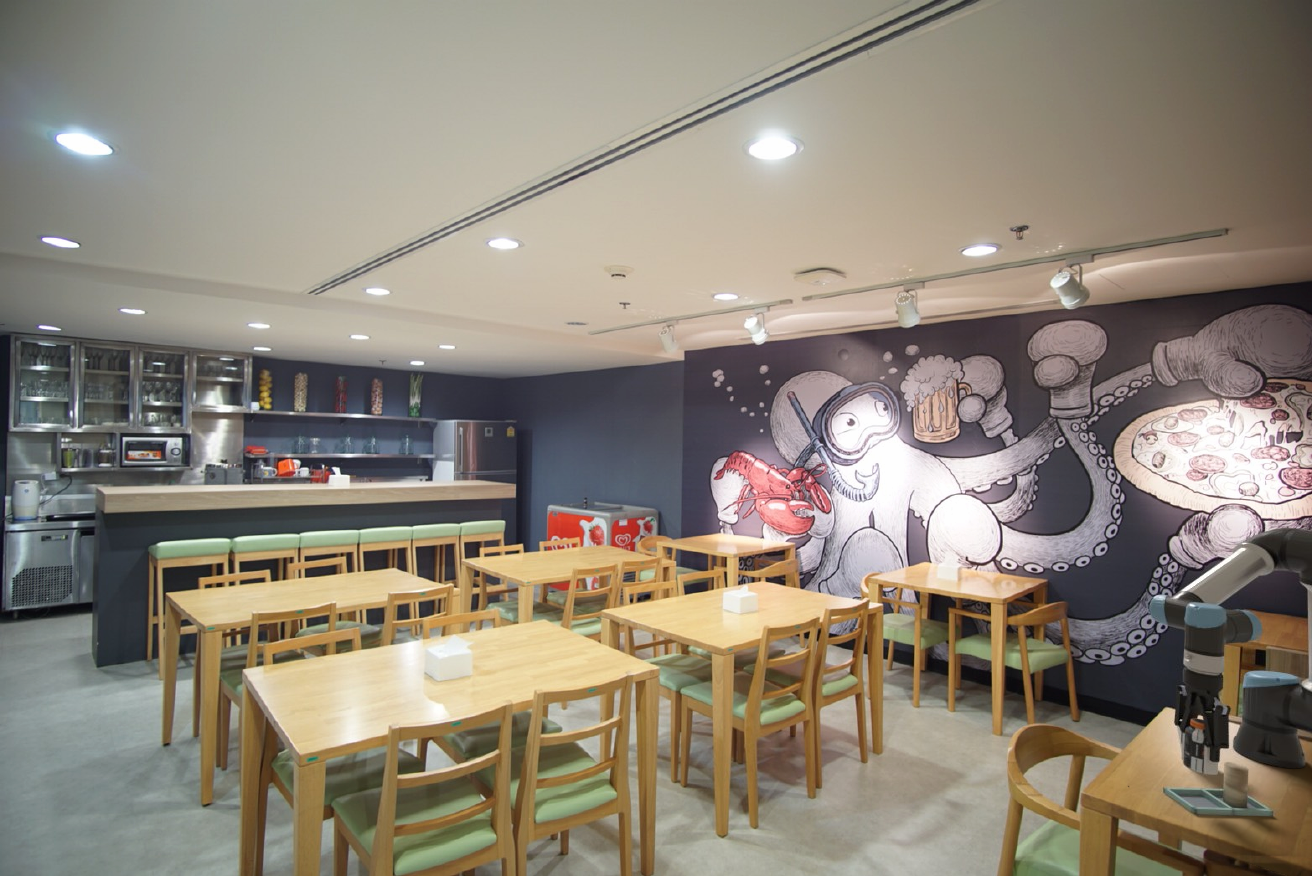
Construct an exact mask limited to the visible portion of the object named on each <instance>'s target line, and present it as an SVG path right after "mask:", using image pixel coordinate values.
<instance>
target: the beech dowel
mask: <svg viewBox="0 0 1312 876" xmlns="http://www.w3.org/2000/svg"><path fill="white" fill-rule="evenodd" d="M1223 765H1224V766H1223V788H1222V789H1223V802H1224V803H1226V804H1227V805H1229V806H1231V807H1233V808H1247V797H1248V796H1249V793H1248V789H1249V768H1248V767H1247V766H1244V765H1243V764H1240V763H1236V762H1229V761H1225V762H1224V764H1223Z"/></svg>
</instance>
